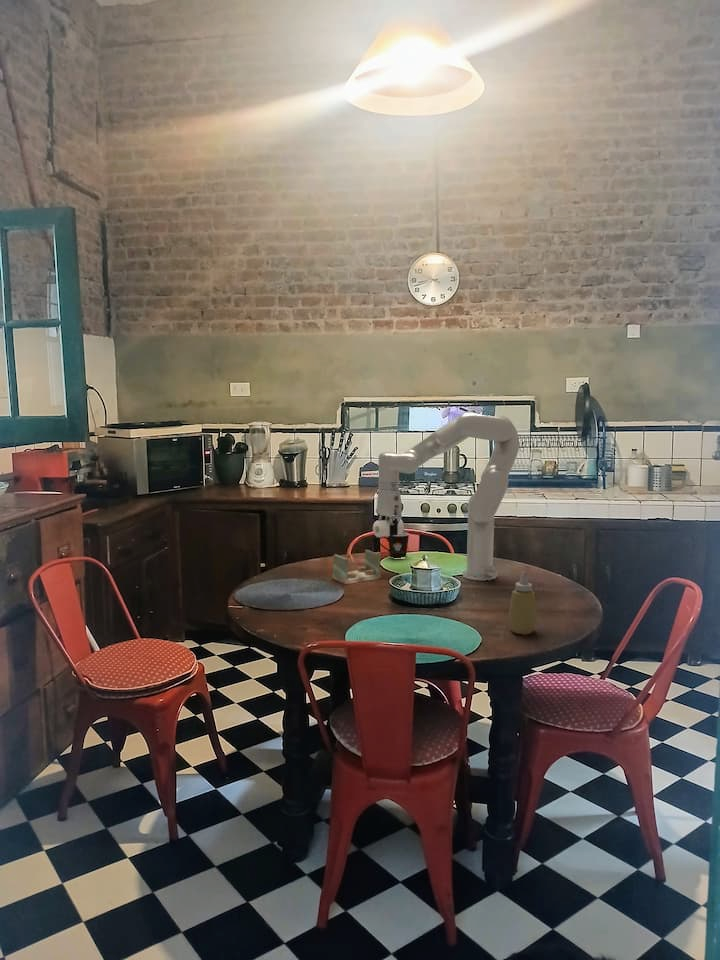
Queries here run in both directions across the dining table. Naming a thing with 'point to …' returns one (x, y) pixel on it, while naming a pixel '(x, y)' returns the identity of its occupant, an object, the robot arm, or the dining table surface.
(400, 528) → the paper roll
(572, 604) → the dining table surface
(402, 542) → the coffee mug
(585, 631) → the dining table surface
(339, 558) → the roll holder
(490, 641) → the dining table surface
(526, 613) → the squeeze bottle
